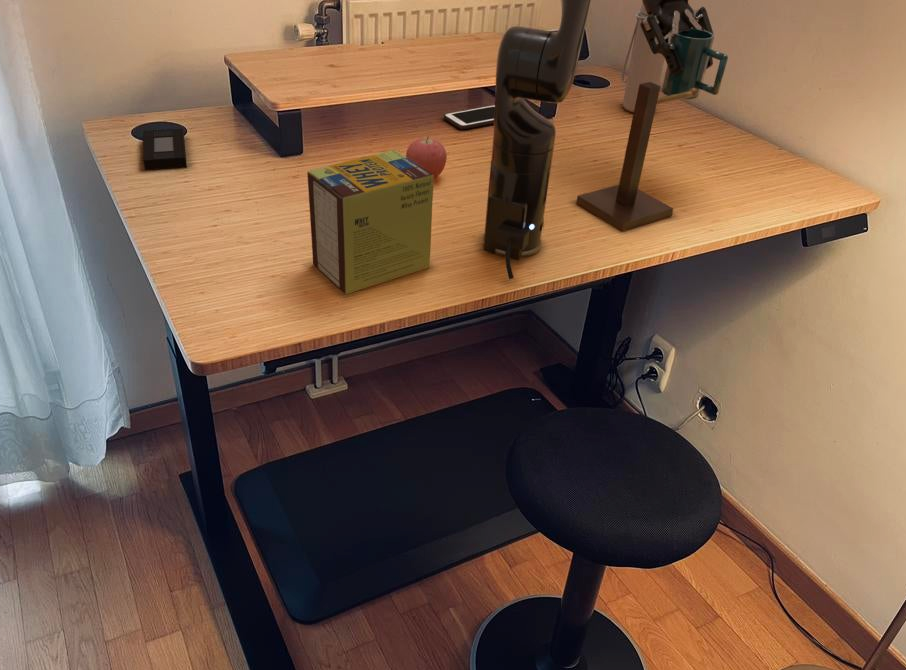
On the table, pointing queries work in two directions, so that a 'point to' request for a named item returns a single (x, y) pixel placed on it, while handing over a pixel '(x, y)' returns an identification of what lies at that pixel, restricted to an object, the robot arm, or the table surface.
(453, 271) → the table surface
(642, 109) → the mug stand
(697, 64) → the mug
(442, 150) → the apple
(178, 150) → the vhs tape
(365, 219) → the protein box
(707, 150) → the table surface
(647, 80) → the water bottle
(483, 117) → the cell phone
